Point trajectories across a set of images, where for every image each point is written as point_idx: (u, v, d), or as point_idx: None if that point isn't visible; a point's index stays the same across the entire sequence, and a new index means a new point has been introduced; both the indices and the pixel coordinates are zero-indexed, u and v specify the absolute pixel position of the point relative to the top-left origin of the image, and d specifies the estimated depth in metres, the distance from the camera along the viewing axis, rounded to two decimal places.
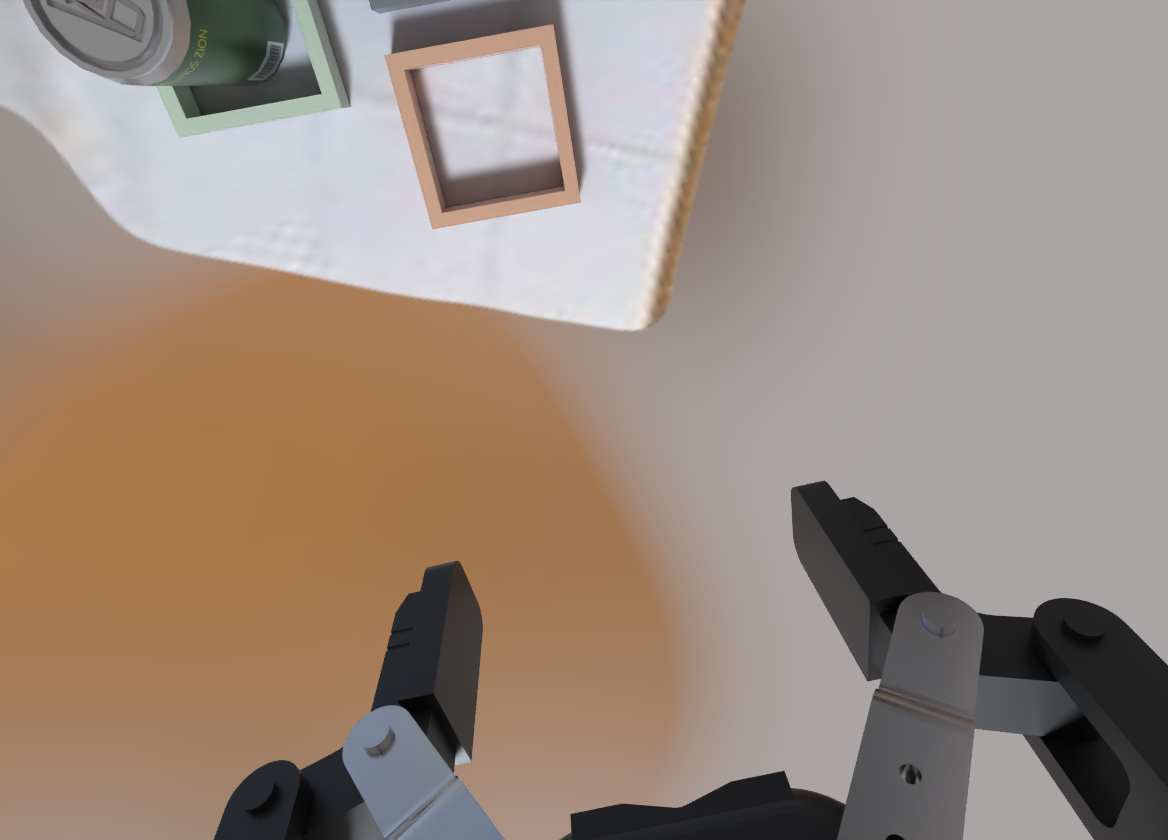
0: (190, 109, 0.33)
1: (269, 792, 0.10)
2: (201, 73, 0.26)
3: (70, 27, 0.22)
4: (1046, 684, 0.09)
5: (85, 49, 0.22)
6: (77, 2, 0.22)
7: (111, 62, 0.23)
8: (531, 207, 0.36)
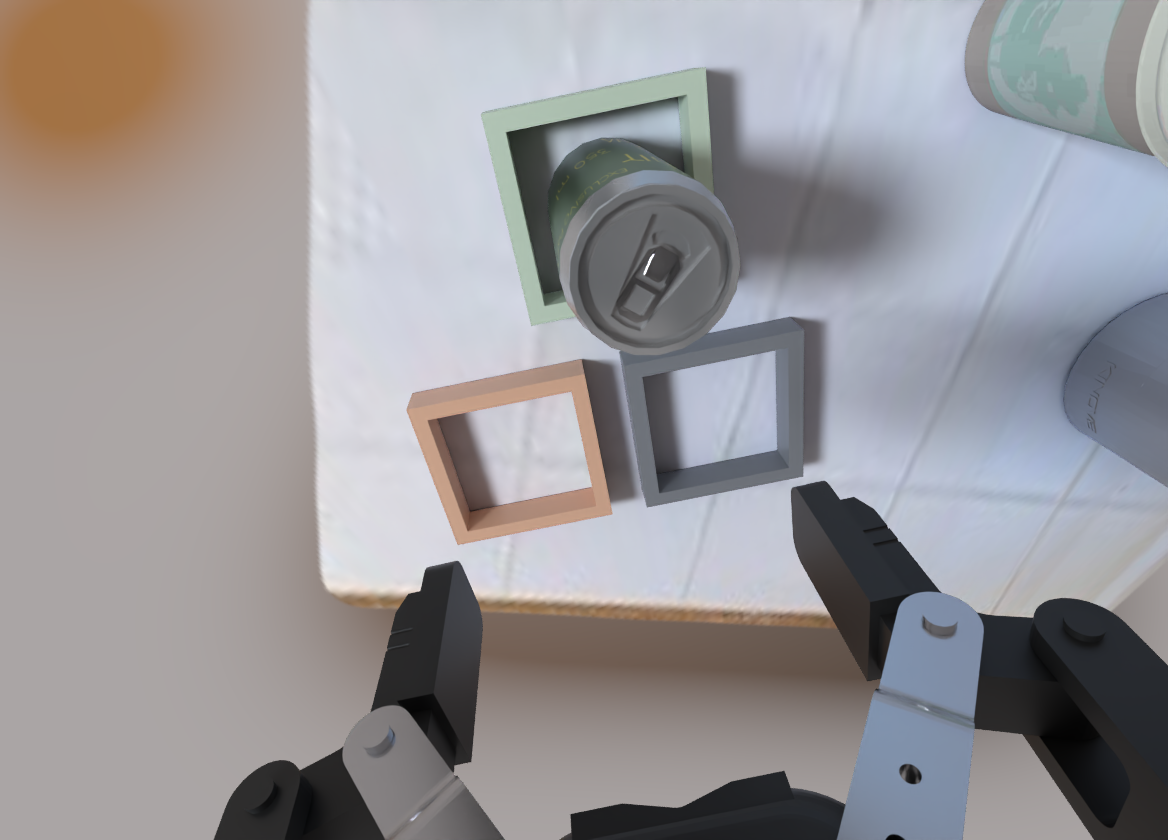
0: None
1: (269, 792, 0.10)
2: None
3: (626, 234, 0.16)
4: (1046, 684, 0.09)
5: (602, 245, 0.17)
6: (653, 251, 0.17)
7: (586, 261, 0.17)
8: (446, 504, 0.33)
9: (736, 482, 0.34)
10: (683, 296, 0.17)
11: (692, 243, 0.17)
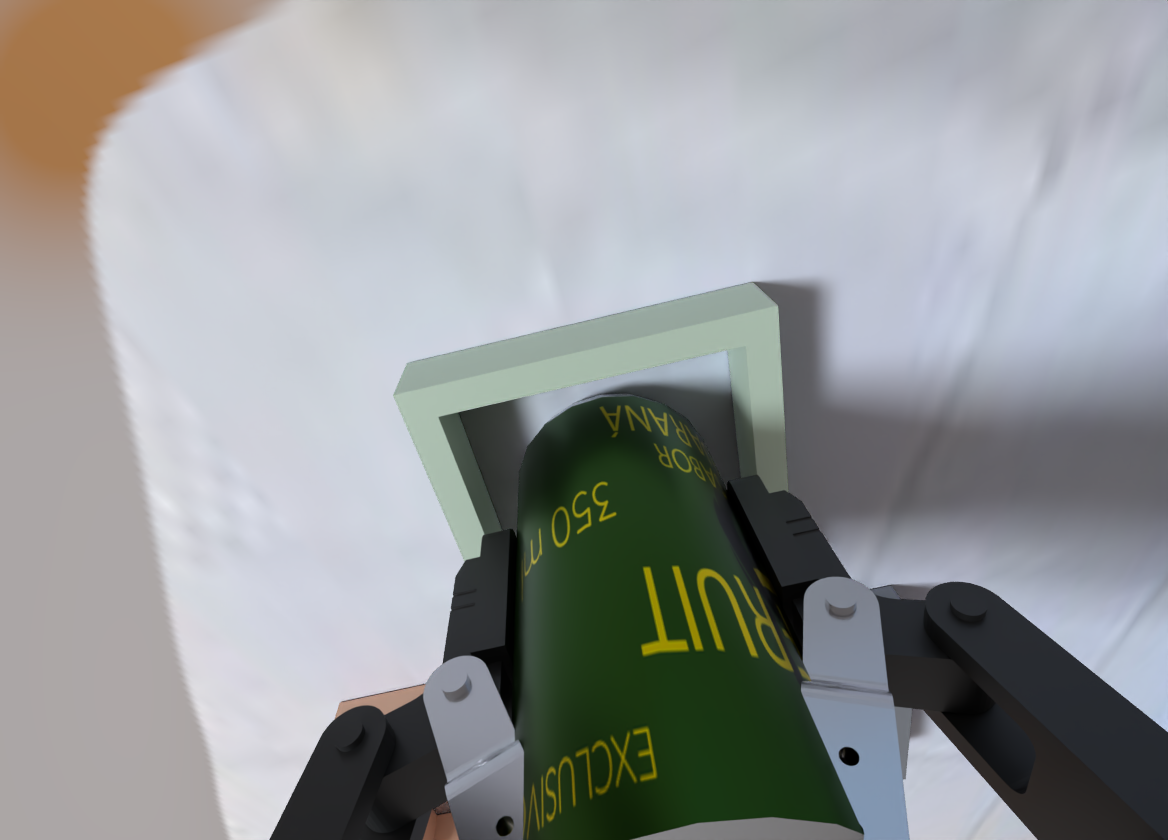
0: None
1: (357, 735, 0.10)
2: None
3: None
4: (933, 661, 0.10)
5: None
6: None
7: None
8: None
9: None
10: None
11: None
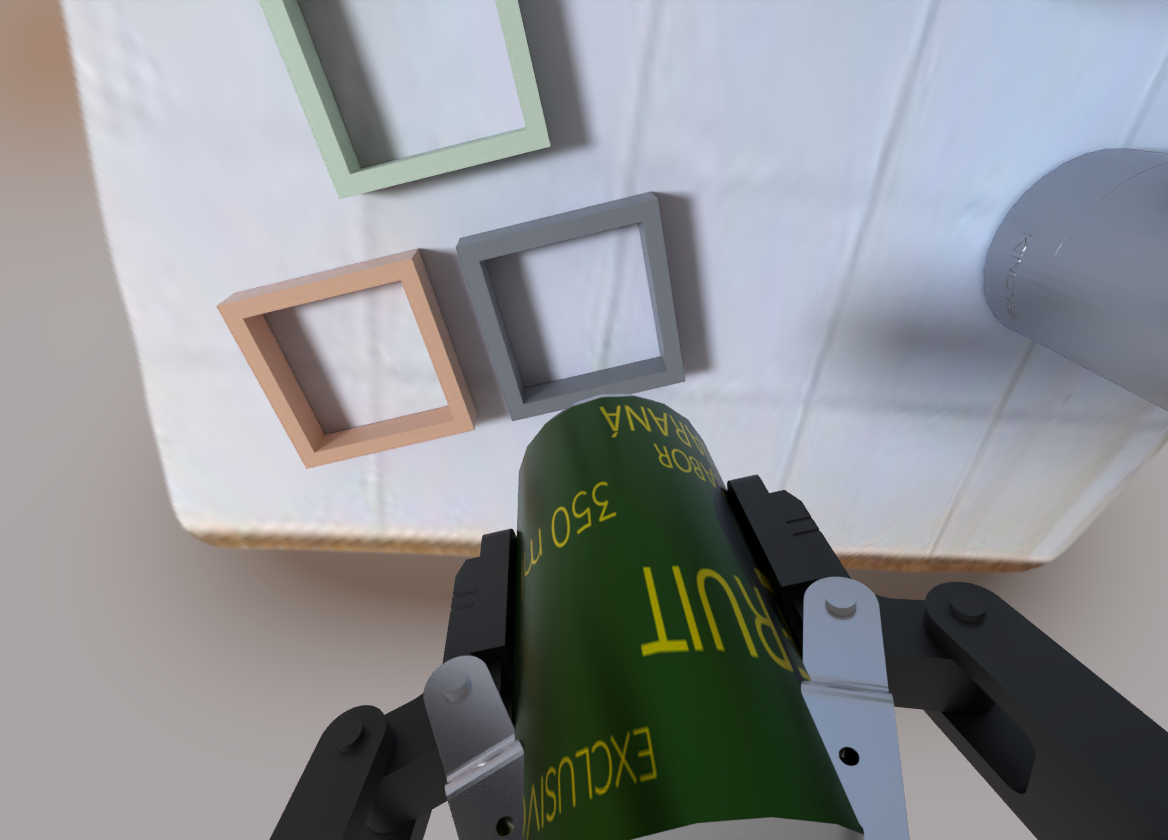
0: None
1: (357, 735, 0.10)
2: None
3: None
4: (933, 661, 0.10)
5: None
6: None
7: None
8: (283, 420, 0.30)
9: (609, 389, 0.30)
10: None
11: None
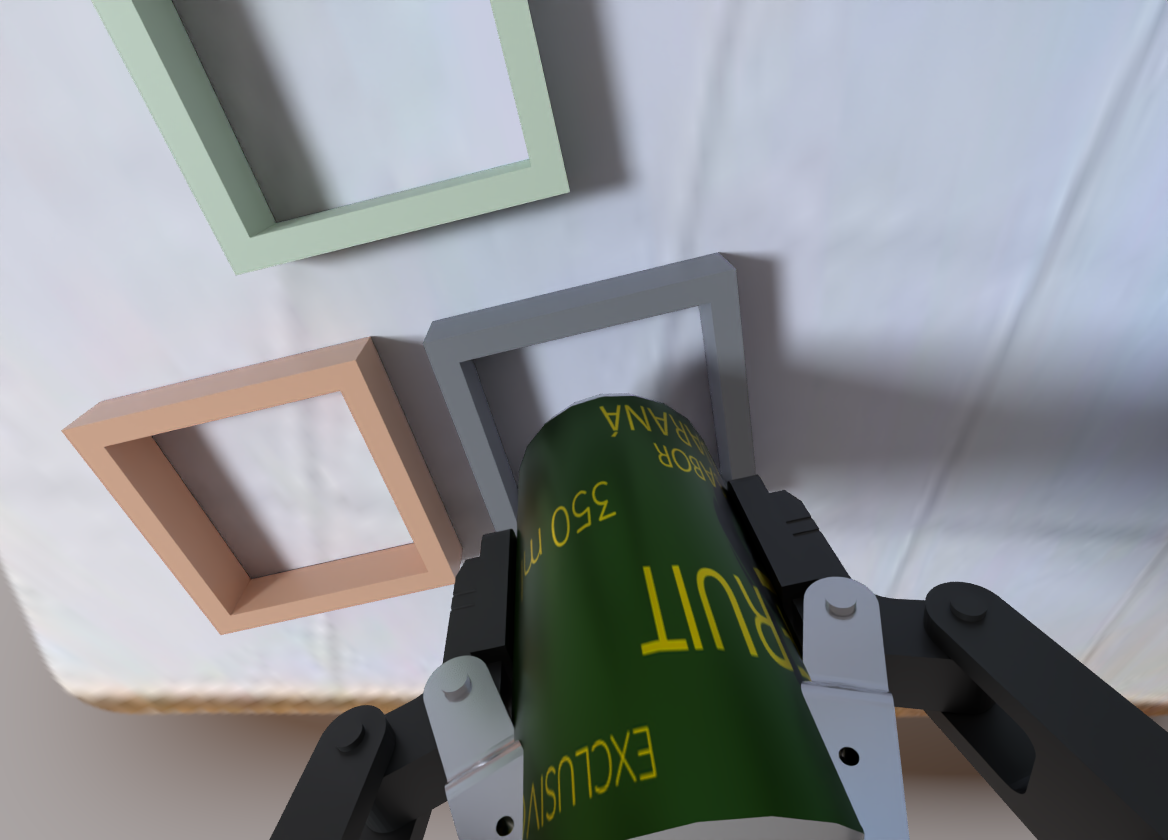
0: None
1: (357, 735, 0.10)
2: None
3: None
4: (933, 661, 0.10)
5: None
6: None
7: None
8: (181, 576, 0.21)
9: None
10: None
11: None
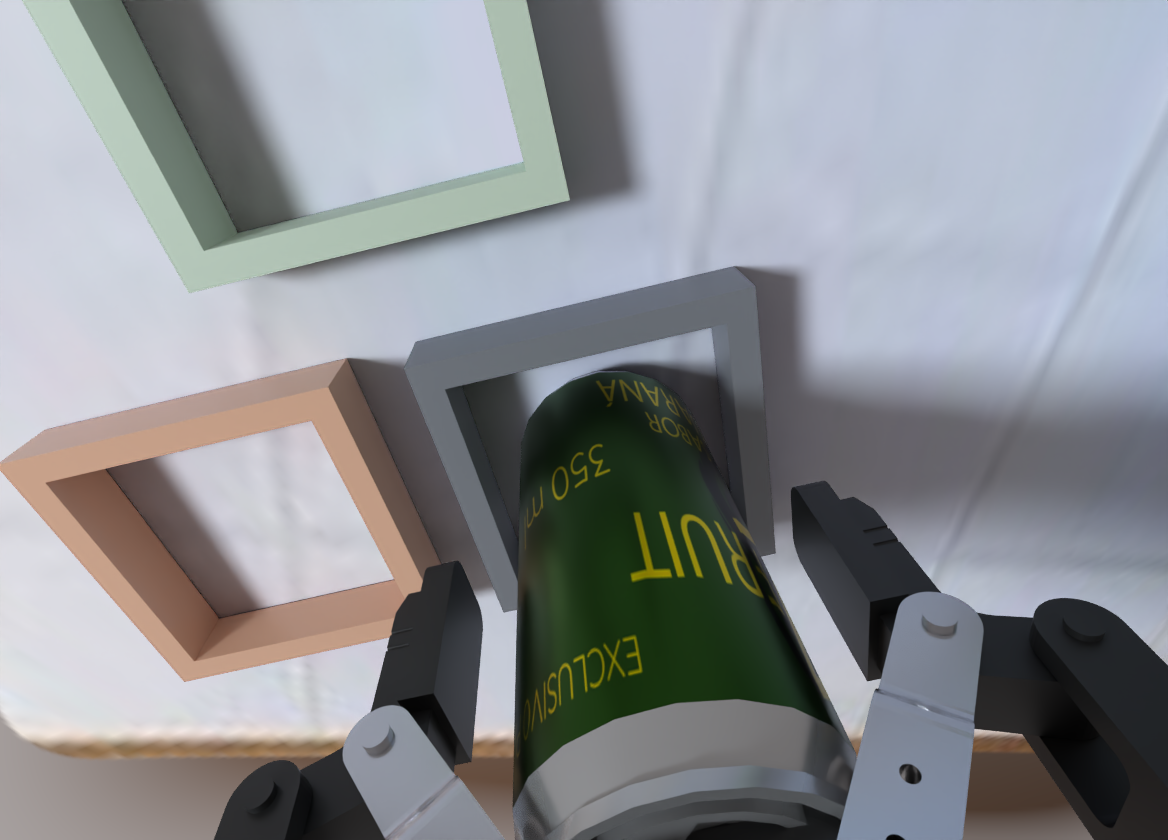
0: None
1: (269, 792, 0.10)
2: None
3: None
4: (1045, 684, 0.09)
5: None
6: None
7: None
8: (138, 621, 0.19)
9: None
10: None
11: None
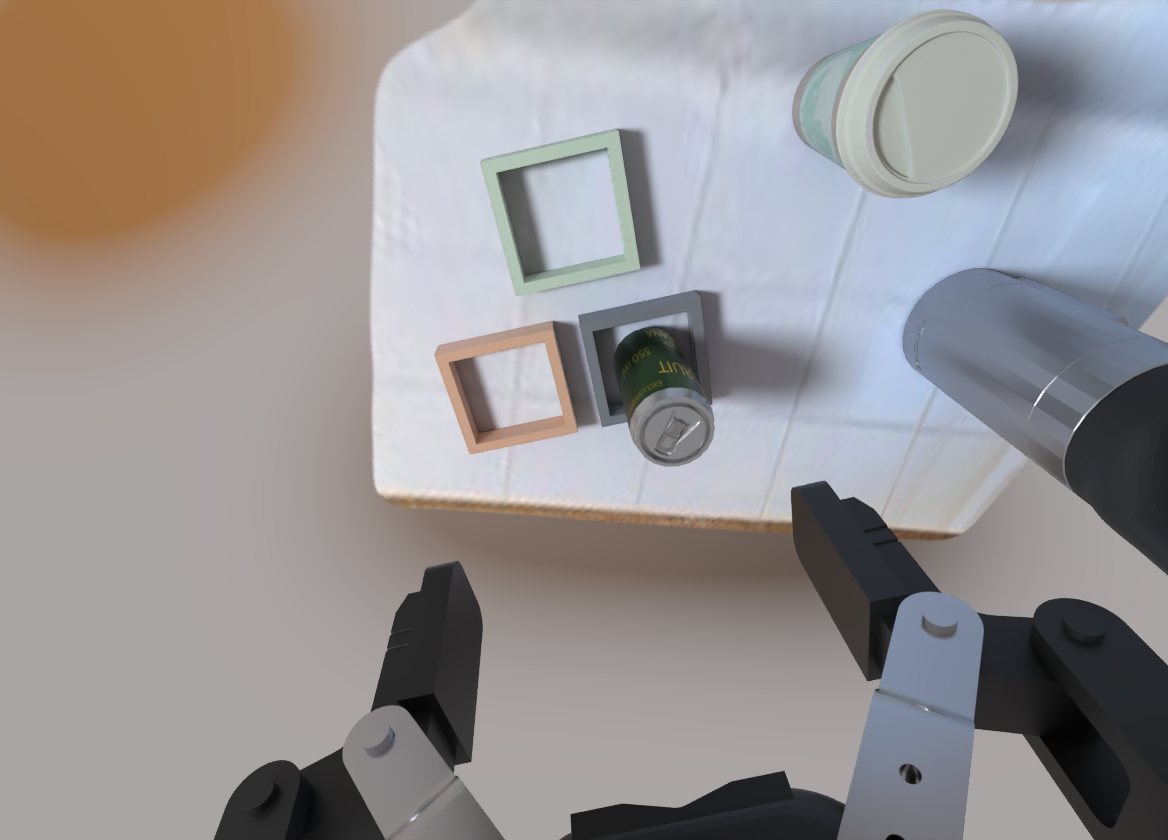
0: None
1: (269, 792, 0.10)
2: None
3: (662, 417, 0.37)
4: (1046, 684, 0.09)
5: (651, 421, 0.37)
6: (674, 423, 0.37)
7: (643, 426, 0.37)
8: (461, 423, 0.47)
9: None
10: (688, 441, 0.38)
11: (692, 419, 0.37)
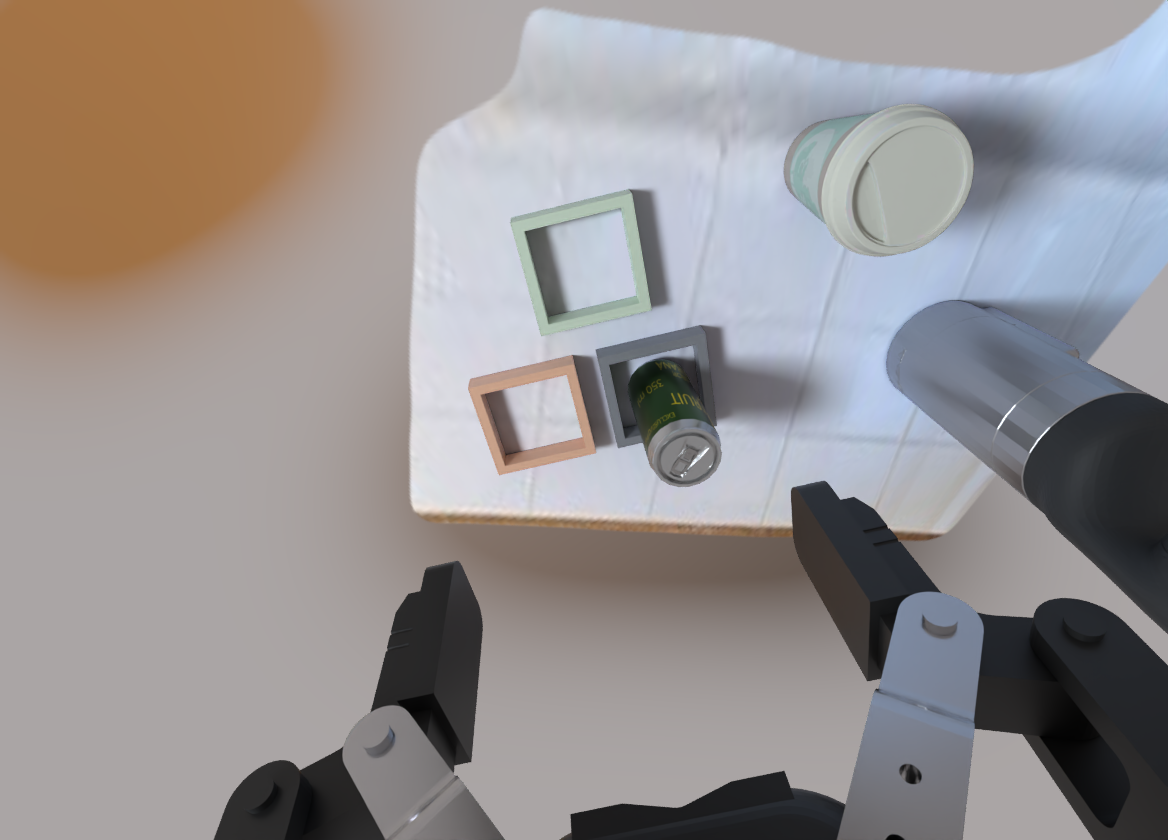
0: None
1: (269, 792, 0.10)
2: None
3: (676, 445, 0.42)
4: (1046, 684, 0.09)
5: (666, 449, 0.42)
6: (686, 450, 0.42)
7: (659, 453, 0.43)
8: (491, 447, 0.53)
9: None
10: (698, 465, 0.43)
11: (701, 446, 0.42)
